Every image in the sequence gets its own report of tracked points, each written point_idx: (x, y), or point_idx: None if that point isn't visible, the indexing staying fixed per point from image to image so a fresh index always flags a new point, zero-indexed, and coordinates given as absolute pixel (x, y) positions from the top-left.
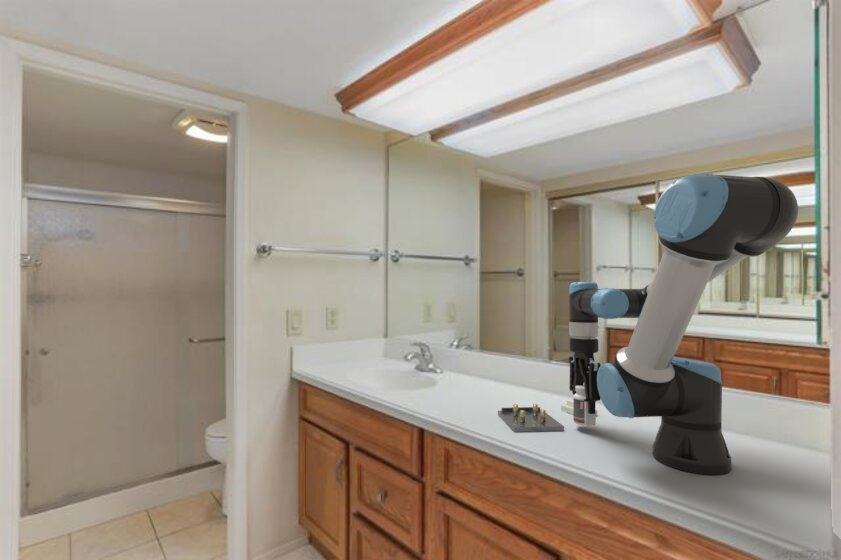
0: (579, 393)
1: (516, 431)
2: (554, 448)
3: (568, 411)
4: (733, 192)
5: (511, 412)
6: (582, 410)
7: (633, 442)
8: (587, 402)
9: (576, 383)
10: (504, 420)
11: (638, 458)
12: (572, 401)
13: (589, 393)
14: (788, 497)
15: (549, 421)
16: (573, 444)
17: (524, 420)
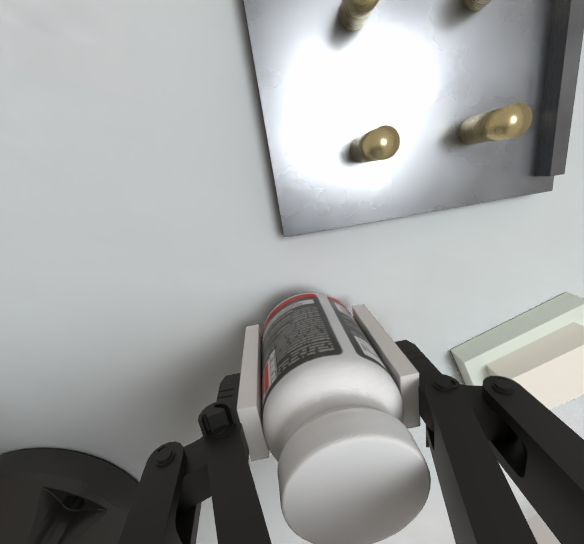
0: (308, 416)
1: None
2: (28, 125)
3: (530, 315)
4: None
5: None
6: (267, 354)
7: (189, 433)
8: (239, 412)
9: (451, 470)
10: None
11: (31, 405)
12: (576, 356)
13: (175, 486)
14: None
15: (356, 183)
16: (111, 228)
17: (344, 18)
